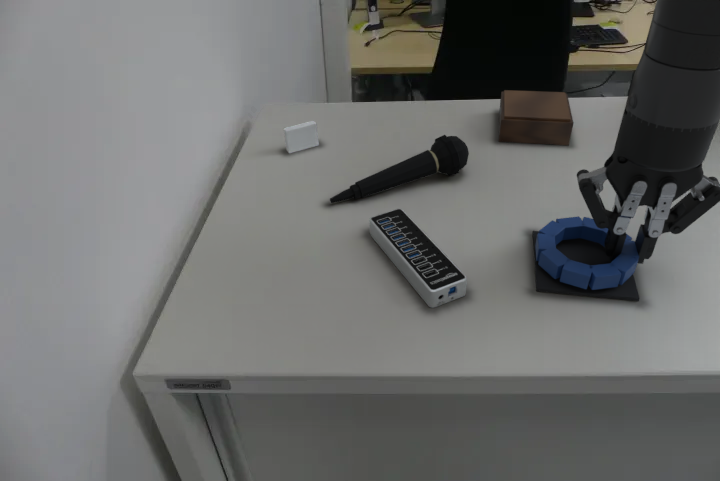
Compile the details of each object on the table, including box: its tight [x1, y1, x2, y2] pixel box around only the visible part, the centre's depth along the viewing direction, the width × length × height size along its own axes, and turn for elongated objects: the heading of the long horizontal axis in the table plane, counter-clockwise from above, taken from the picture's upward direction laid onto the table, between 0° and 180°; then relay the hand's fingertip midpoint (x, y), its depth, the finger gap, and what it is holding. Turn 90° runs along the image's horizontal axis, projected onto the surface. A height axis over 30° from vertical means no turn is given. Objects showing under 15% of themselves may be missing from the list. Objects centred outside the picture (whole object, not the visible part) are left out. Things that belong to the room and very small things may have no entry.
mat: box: [532, 230, 641, 302], centre depth 61 cm, size 10×10×1 cm
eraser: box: [282, 120, 320, 154], centre depth 84 cm, size 1×5×4 cm, turn 116°
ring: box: [535, 215, 639, 290], centre depth 60 cm, size 10×10×2 cm
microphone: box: [329, 134, 470, 204], centre depth 74 cm, size 6×6×20 cm
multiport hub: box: [368, 208, 468, 309], centre depth 62 cm, size 4×14×2 cm, turn 25°
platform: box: [498, 89, 574, 146], centre depth 85 cm, size 10×10×4 cm
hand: (624, 257), depth 60 cm, fingers closed on ring, 2 cm apart
